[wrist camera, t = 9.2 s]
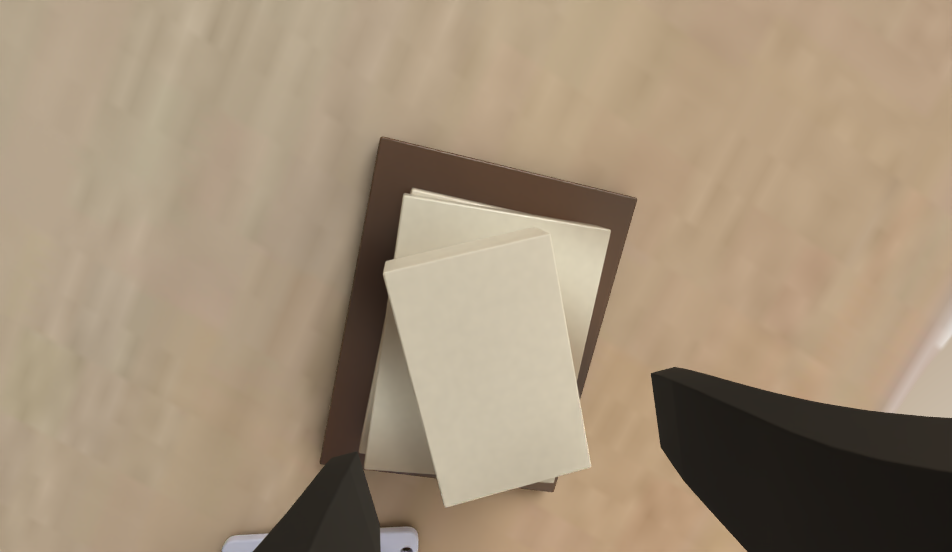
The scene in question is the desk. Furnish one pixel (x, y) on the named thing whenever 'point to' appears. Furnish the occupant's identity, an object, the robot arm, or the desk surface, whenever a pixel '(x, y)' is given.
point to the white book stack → (442, 225)
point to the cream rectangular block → (490, 363)
